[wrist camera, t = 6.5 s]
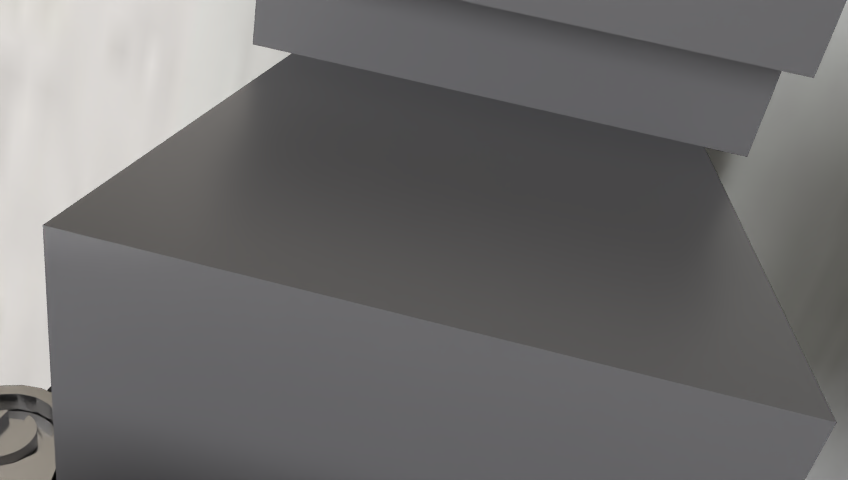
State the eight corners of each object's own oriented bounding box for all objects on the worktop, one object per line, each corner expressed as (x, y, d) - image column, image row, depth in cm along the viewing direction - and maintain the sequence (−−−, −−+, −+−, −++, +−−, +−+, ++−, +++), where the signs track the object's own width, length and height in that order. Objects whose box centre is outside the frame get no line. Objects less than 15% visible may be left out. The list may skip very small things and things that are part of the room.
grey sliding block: (792, -32, 9) (1124, 122, 4) (565, 558, 14) (564, 1010, 8) (295, -137, 9) (-66, -137, 4) (238, 471, 14) (34, 847, 9)
